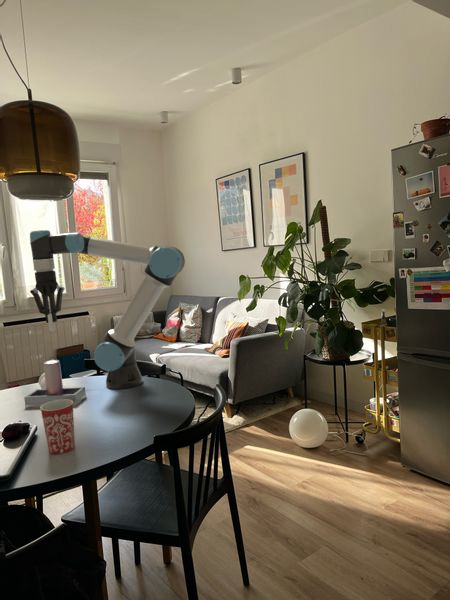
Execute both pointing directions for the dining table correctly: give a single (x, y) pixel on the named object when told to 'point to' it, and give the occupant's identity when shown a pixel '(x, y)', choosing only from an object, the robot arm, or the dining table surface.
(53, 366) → the beverage can
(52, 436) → the mug
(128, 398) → the dining table surface
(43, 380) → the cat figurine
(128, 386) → the robot arm
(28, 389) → the dining table surface
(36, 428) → the dining table surface
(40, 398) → the grey shallow rectangular tray
